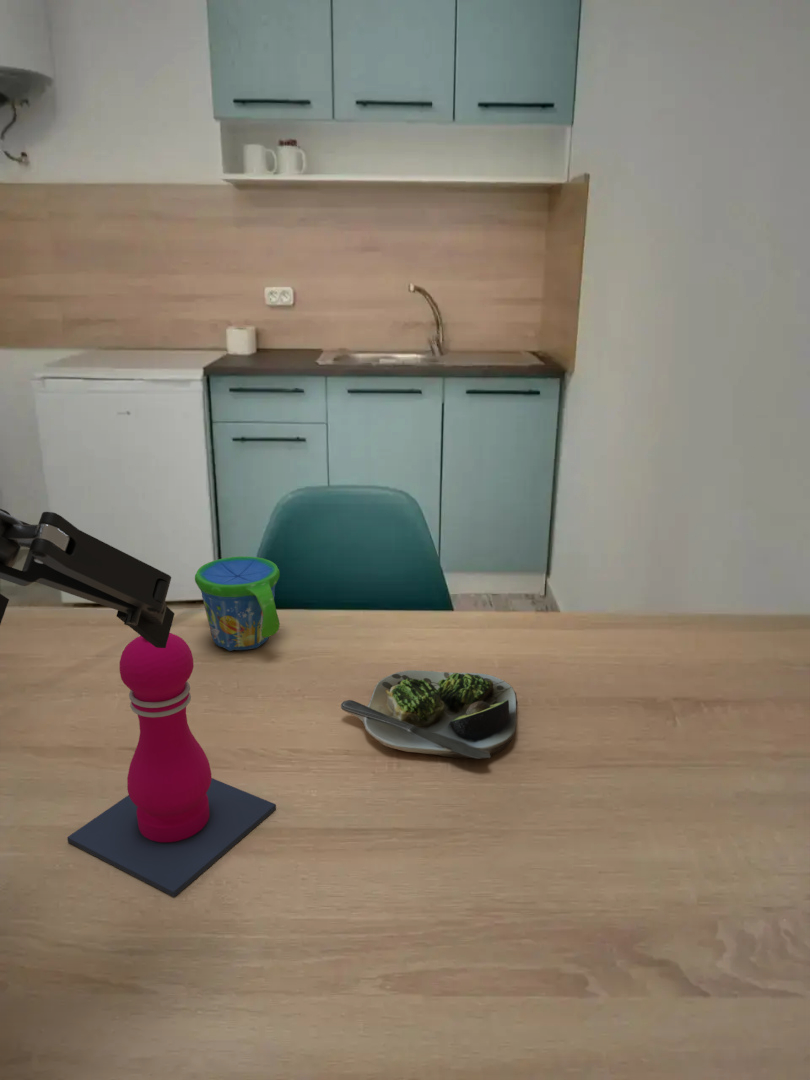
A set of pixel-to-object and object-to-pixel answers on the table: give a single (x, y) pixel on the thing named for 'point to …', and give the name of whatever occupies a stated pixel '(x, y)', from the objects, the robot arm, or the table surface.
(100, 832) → the placemat
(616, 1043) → the table surface
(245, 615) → the snack cup
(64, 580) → the robot arm
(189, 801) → the pepper mill
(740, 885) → the table surface
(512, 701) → the salad plate
